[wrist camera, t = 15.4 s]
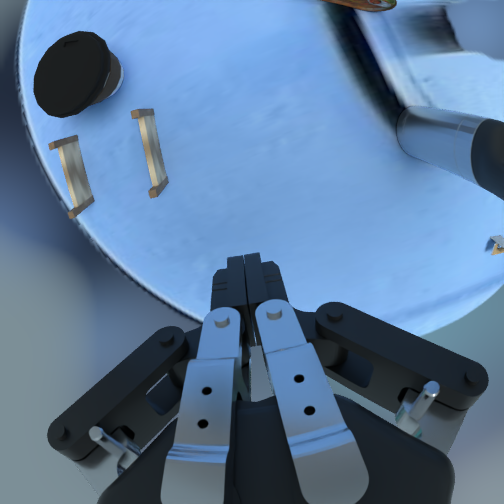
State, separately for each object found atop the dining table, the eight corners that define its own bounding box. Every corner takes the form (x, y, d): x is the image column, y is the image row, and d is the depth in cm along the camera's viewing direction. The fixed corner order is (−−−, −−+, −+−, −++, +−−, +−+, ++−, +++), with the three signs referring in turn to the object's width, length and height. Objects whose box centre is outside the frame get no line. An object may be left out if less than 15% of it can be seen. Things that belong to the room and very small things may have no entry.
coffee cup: (83, 48, 26) (40, 36, 16) (146, 45, 28) (116, 24, 17) (71, 113, 31) (25, 120, 21) (131, 114, 33) (95, 118, 23)
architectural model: (496, 245, 51) (512, 259, 45) (483, 248, 51) (500, 262, 45) (499, 234, 50) (516, 247, 43) (486, 236, 49) (504, 250, 43)
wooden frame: (168, 182, 39) (157, 196, 33) (89, 202, 39) (69, 219, 33) (153, 108, 33) (138, 108, 27) (72, 136, 33) (48, 143, 27)
